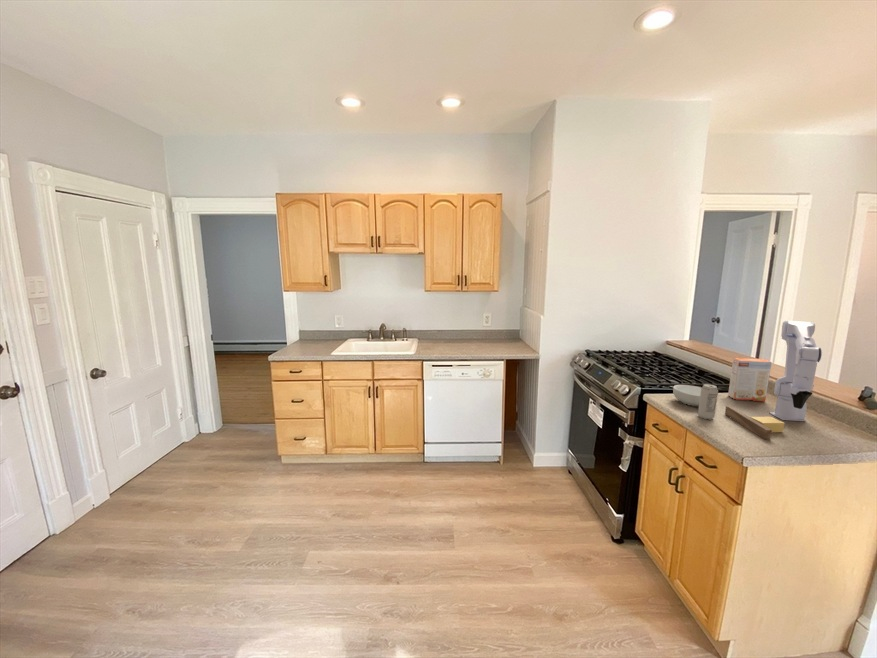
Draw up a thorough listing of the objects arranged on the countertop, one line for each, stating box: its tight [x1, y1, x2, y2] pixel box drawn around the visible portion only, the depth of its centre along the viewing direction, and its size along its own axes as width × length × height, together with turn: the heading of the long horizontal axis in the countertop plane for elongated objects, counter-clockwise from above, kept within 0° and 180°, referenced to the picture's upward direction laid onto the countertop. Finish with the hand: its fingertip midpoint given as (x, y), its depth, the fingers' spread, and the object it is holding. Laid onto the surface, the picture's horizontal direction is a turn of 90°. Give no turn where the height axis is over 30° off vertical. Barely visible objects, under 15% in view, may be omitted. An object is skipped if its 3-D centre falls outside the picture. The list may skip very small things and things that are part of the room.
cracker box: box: [727, 357, 772, 402], centre depth 182 cm, size 14×6×21 cm, turn 77°
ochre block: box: [749, 416, 785, 432], centre depth 150 cm, size 9×6×4 cm, turn 92°
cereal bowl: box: [672, 384, 702, 407], centre depth 177 cm, size 17×17×7 cm
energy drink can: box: [697, 383, 719, 420], centre depth 160 cm, size 6×6×15 cm
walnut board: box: [724, 405, 772, 440], centre depth 153 cm, size 2×24×4 cm, turn 173°
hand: (797, 407), depth 147 cm, fingers closed
